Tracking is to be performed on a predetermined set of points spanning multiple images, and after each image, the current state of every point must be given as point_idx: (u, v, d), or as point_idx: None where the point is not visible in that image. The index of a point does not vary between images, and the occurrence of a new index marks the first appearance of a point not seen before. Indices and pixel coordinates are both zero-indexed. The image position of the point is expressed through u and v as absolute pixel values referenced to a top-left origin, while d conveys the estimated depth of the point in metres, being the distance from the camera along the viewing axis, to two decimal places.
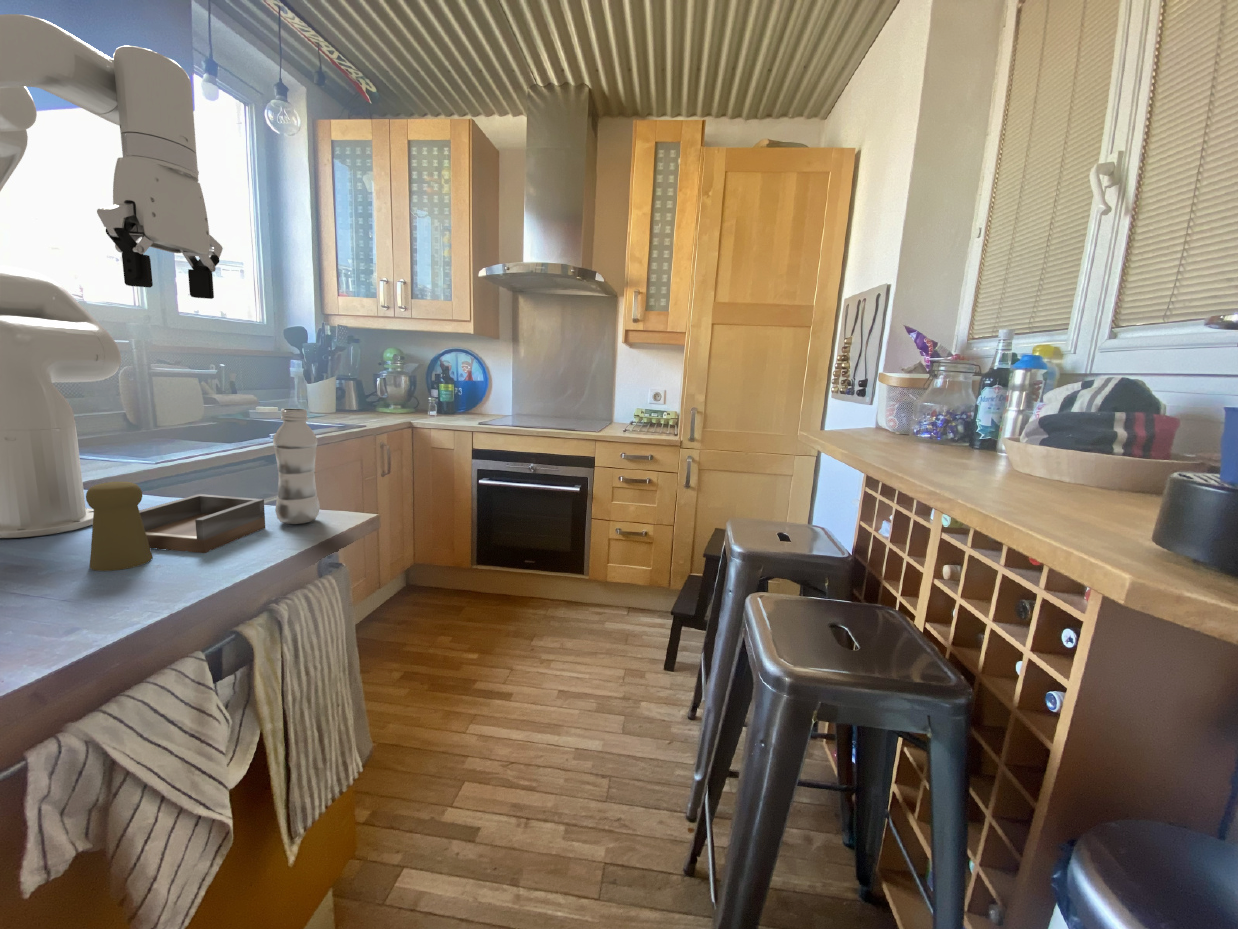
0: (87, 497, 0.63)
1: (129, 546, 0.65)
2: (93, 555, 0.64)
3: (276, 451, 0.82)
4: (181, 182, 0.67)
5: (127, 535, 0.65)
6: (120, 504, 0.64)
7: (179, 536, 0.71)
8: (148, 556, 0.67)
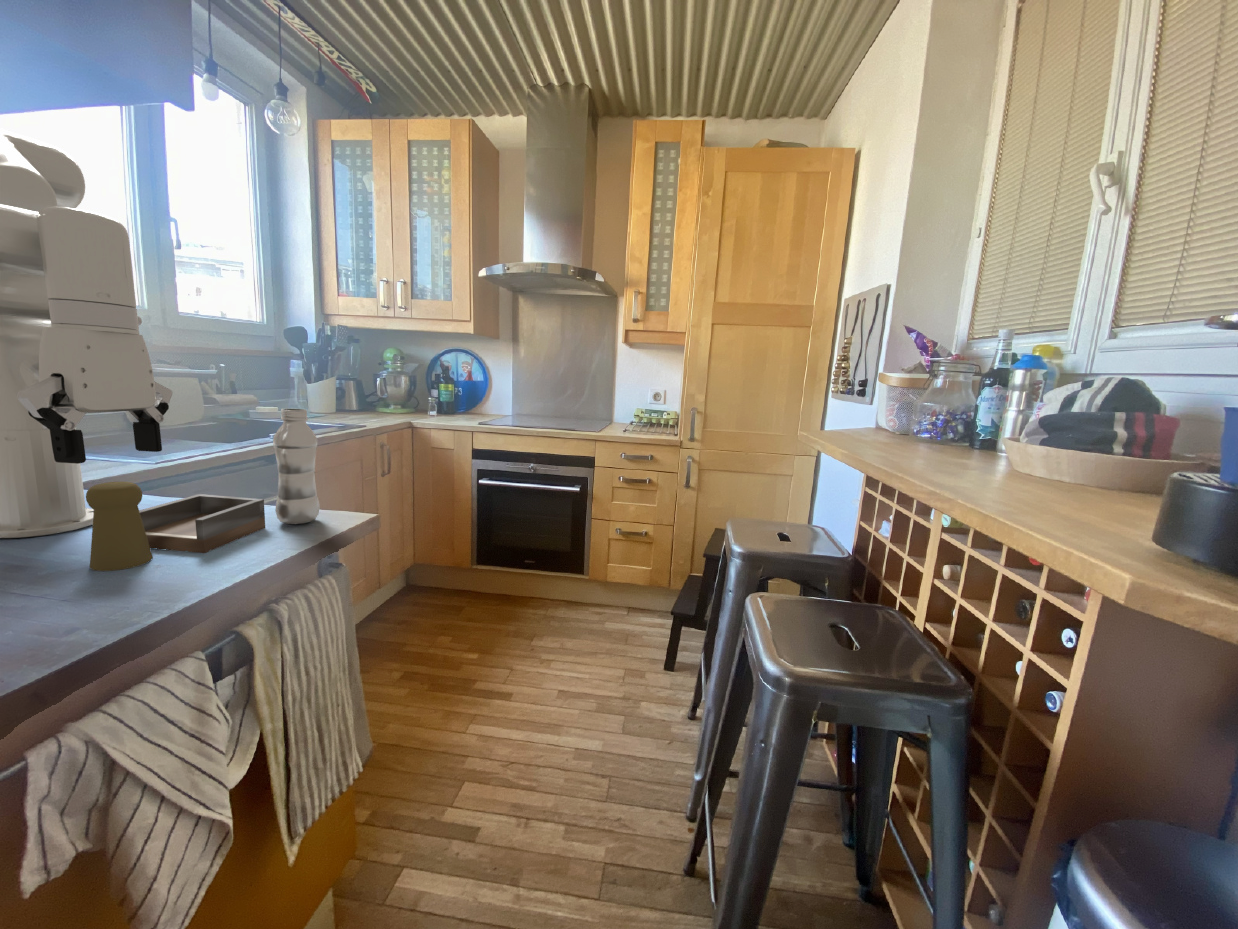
0: (87, 497, 0.63)
1: (129, 546, 0.65)
2: (93, 555, 0.64)
3: (276, 451, 0.82)
4: (118, 342, 0.61)
5: (127, 535, 0.65)
6: (120, 504, 0.64)
7: (179, 536, 0.71)
8: (148, 556, 0.67)
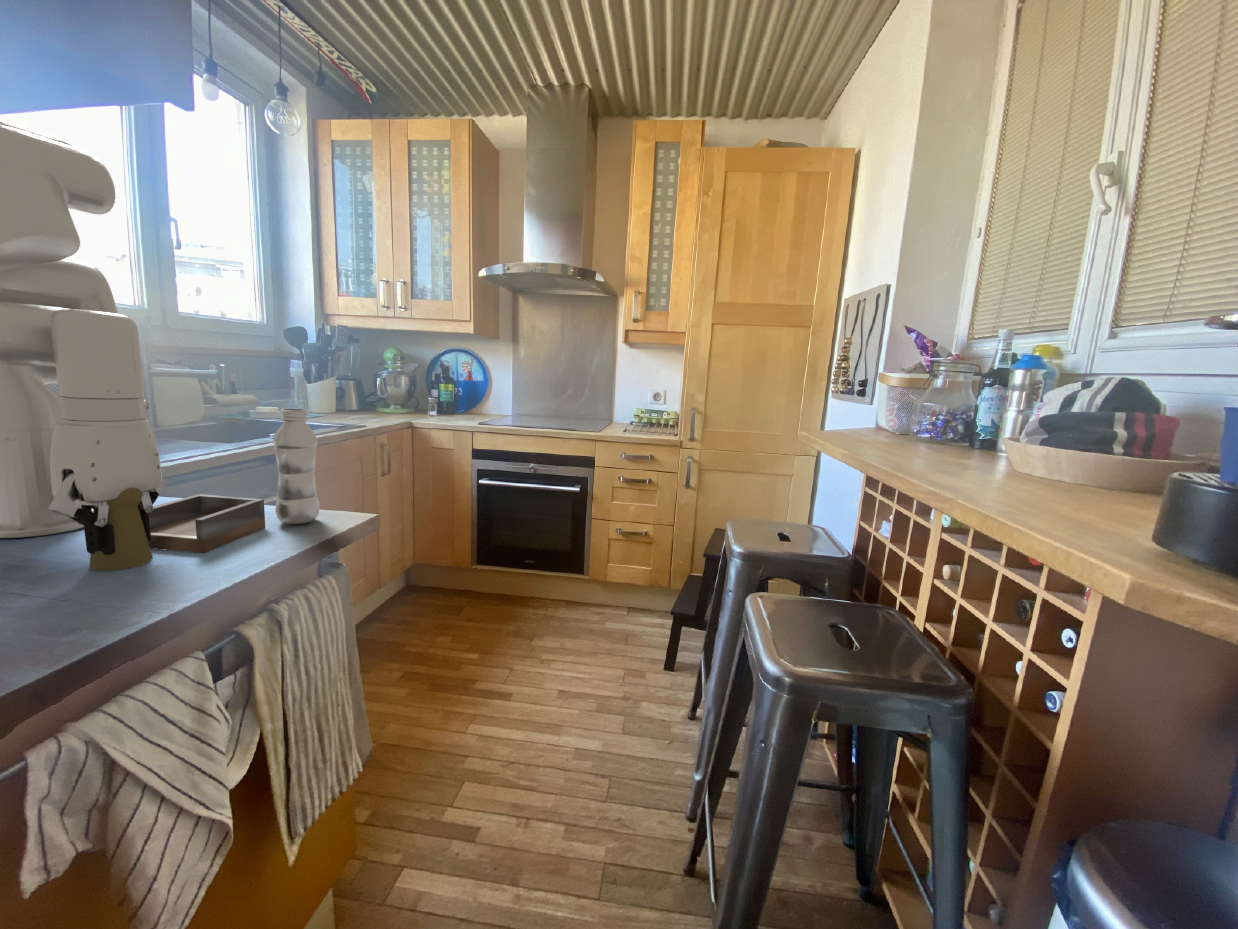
0: None
1: (128, 546, 0.65)
2: (93, 555, 0.64)
3: (276, 451, 0.82)
4: (126, 432, 0.63)
5: (126, 535, 0.65)
6: (119, 504, 0.64)
7: (179, 536, 0.71)
8: (148, 556, 0.67)
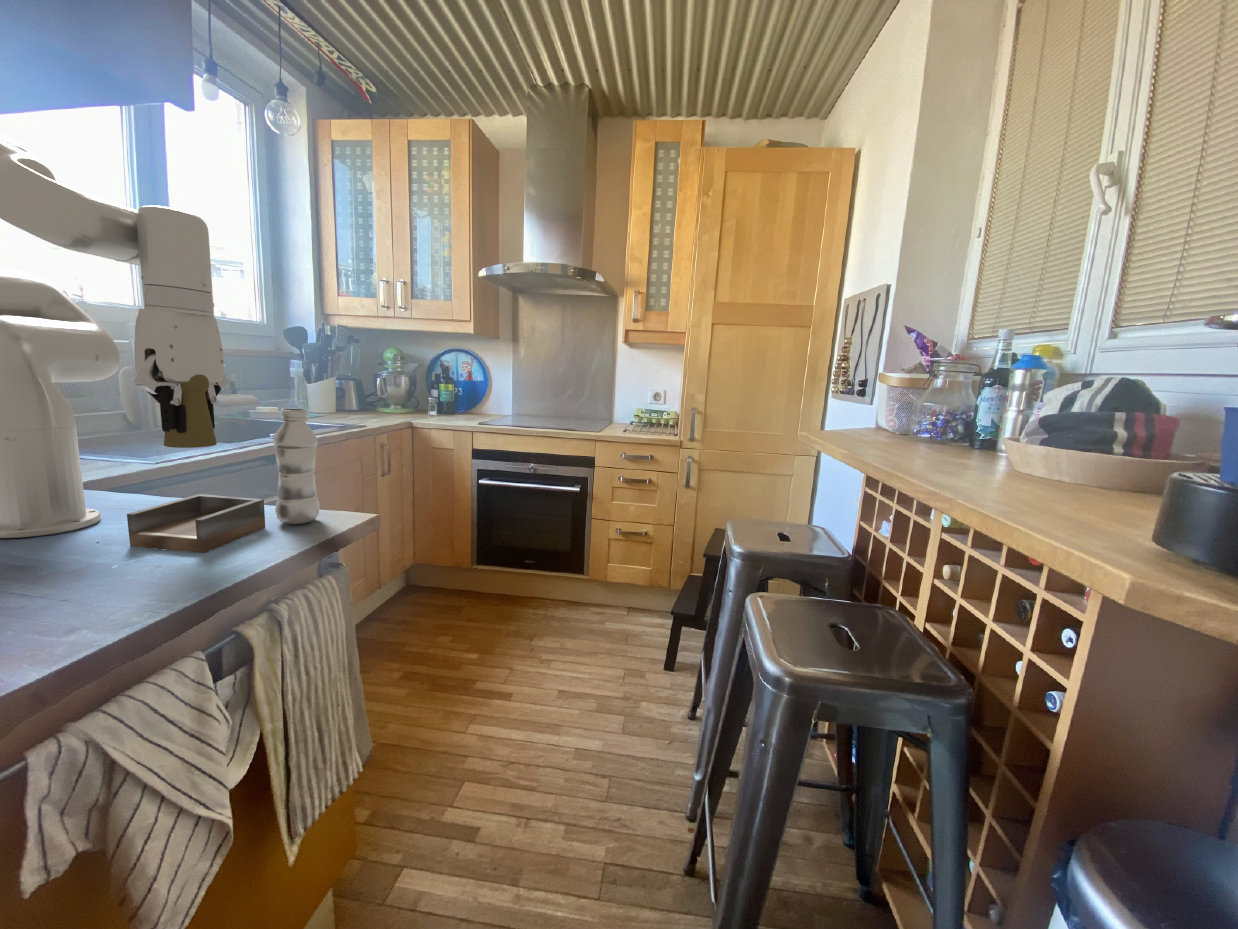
0: None
1: (198, 427, 0.72)
2: (167, 433, 0.71)
3: (276, 451, 0.82)
4: (198, 323, 0.71)
5: (197, 417, 0.72)
6: (191, 387, 0.71)
7: (179, 536, 0.71)
8: (213, 440, 0.75)
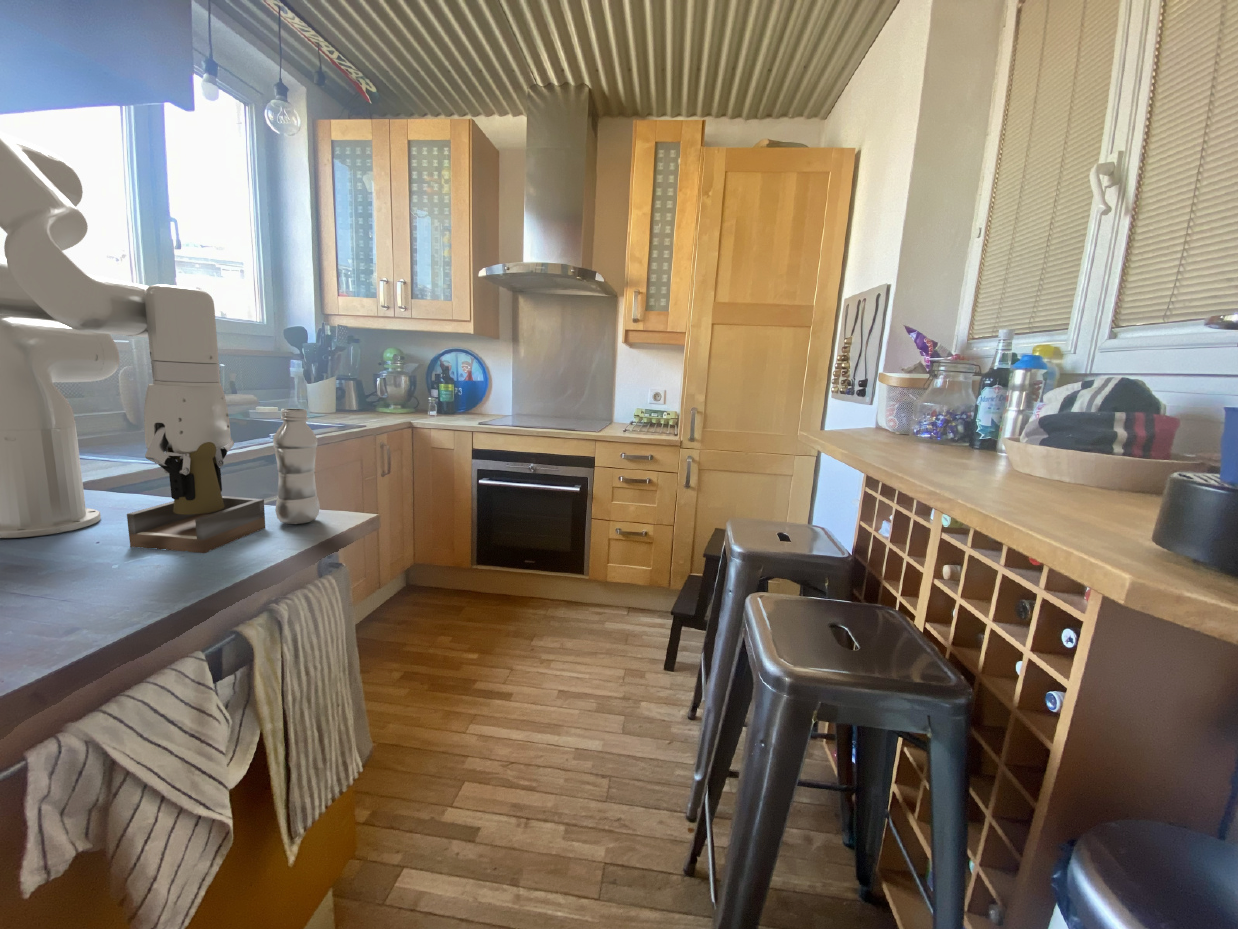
0: None
1: (206, 494, 0.74)
2: (177, 501, 0.73)
3: (276, 451, 0.82)
4: (205, 393, 0.73)
5: (205, 483, 0.74)
6: (200, 456, 0.73)
7: (179, 536, 0.71)
8: (221, 504, 0.77)
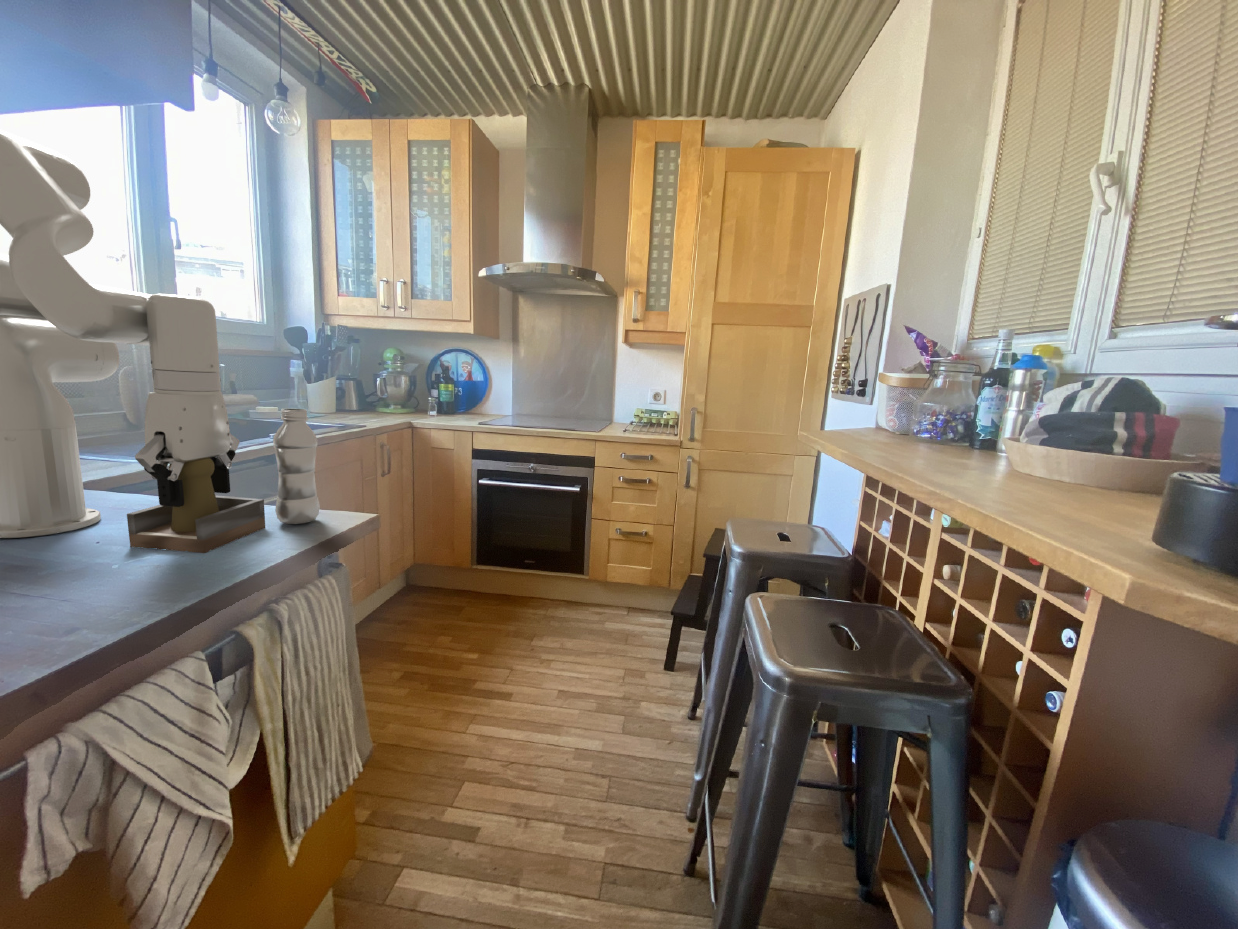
0: None
1: (204, 511, 0.75)
2: (175, 518, 0.73)
3: (276, 451, 0.82)
4: (205, 402, 0.73)
5: (203, 501, 0.75)
6: (198, 474, 0.73)
7: (179, 536, 0.71)
8: None
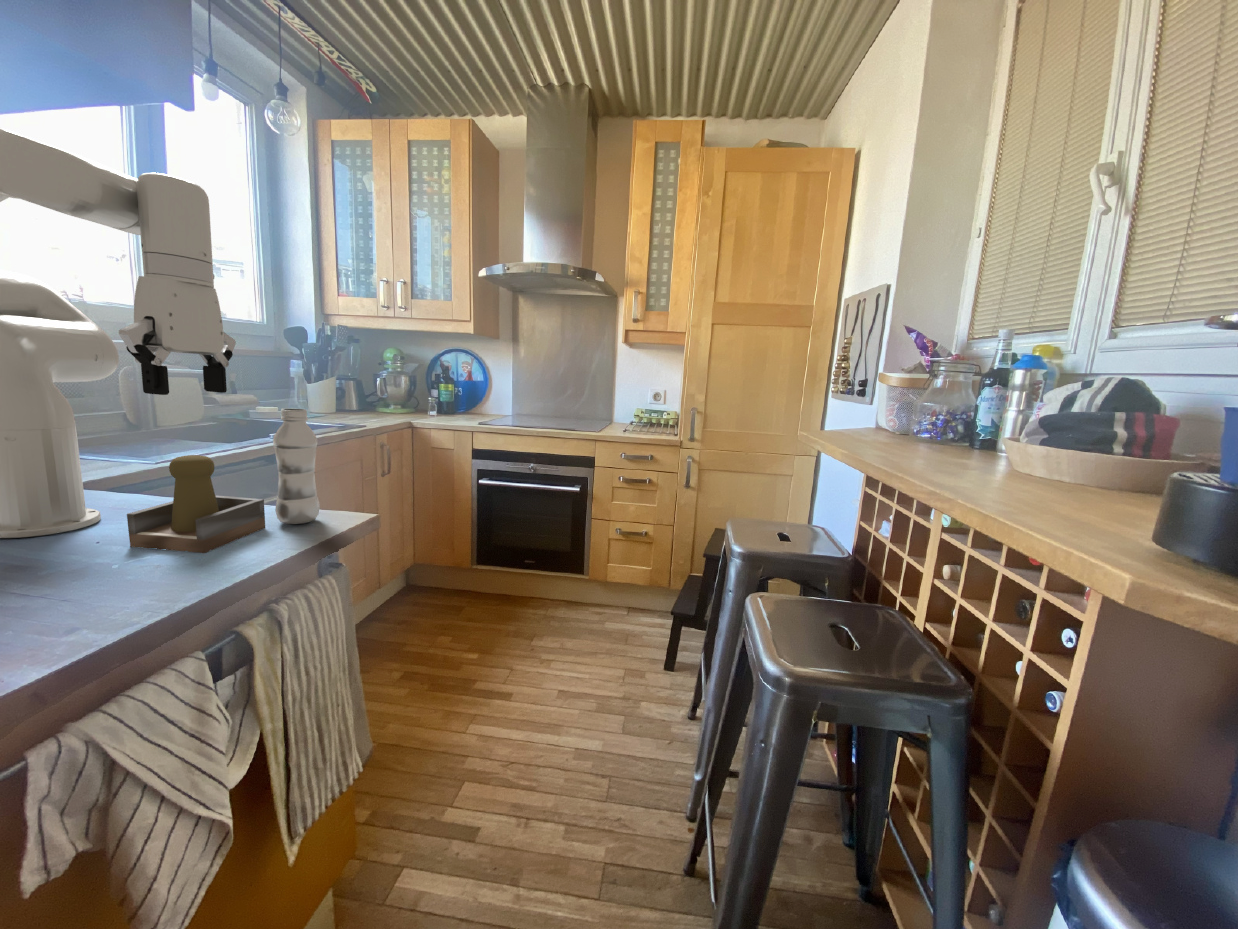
0: (171, 467, 0.72)
1: (204, 511, 0.75)
2: (175, 518, 0.73)
3: (276, 451, 0.82)
4: (197, 292, 0.71)
5: (203, 501, 0.75)
6: (198, 474, 0.73)
7: (179, 536, 0.71)
8: None
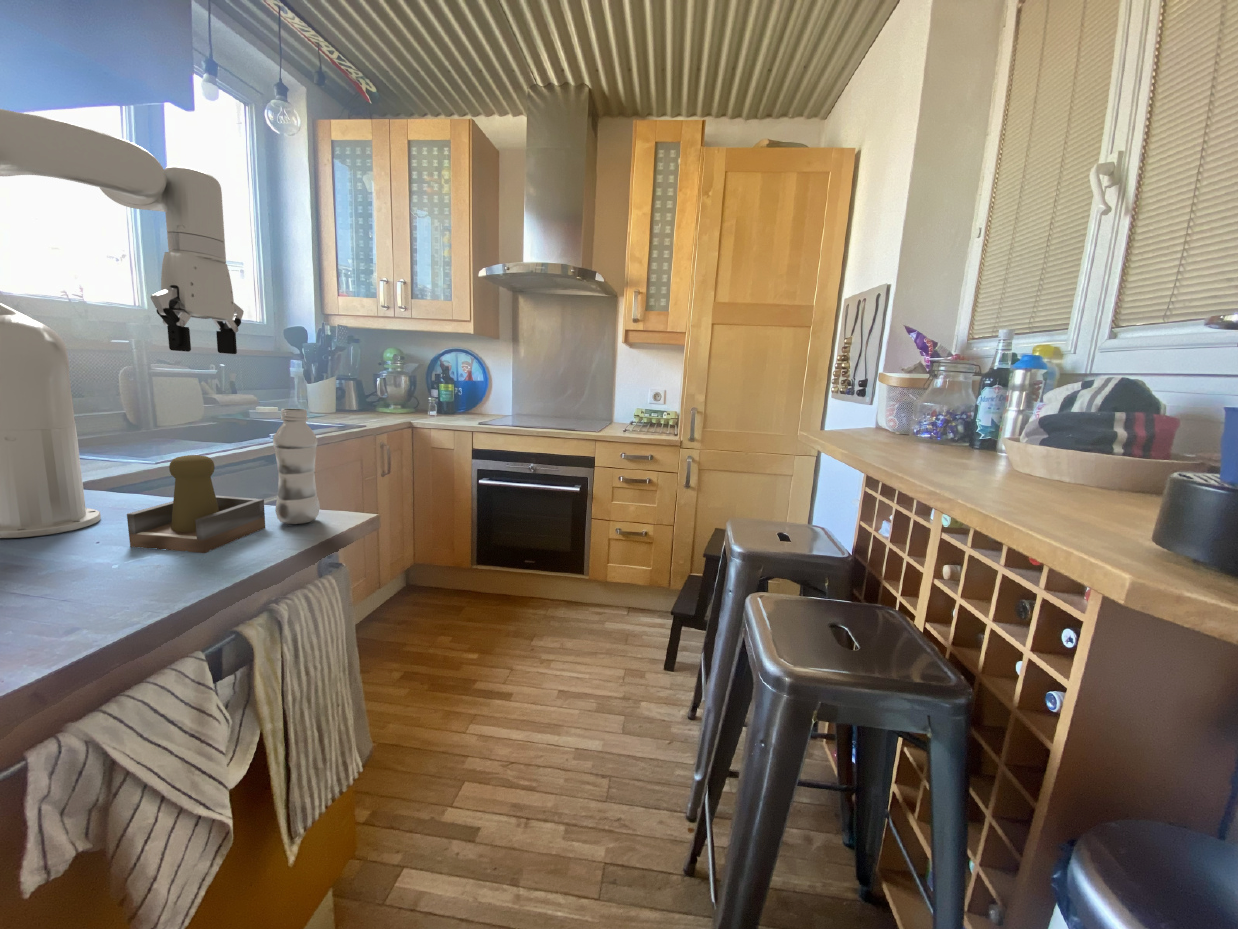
0: (171, 467, 0.72)
1: (204, 511, 0.75)
2: (175, 518, 0.73)
3: (276, 451, 0.82)
4: (213, 266, 0.85)
5: (203, 501, 0.75)
6: (198, 474, 0.73)
7: (179, 536, 0.71)
8: None
